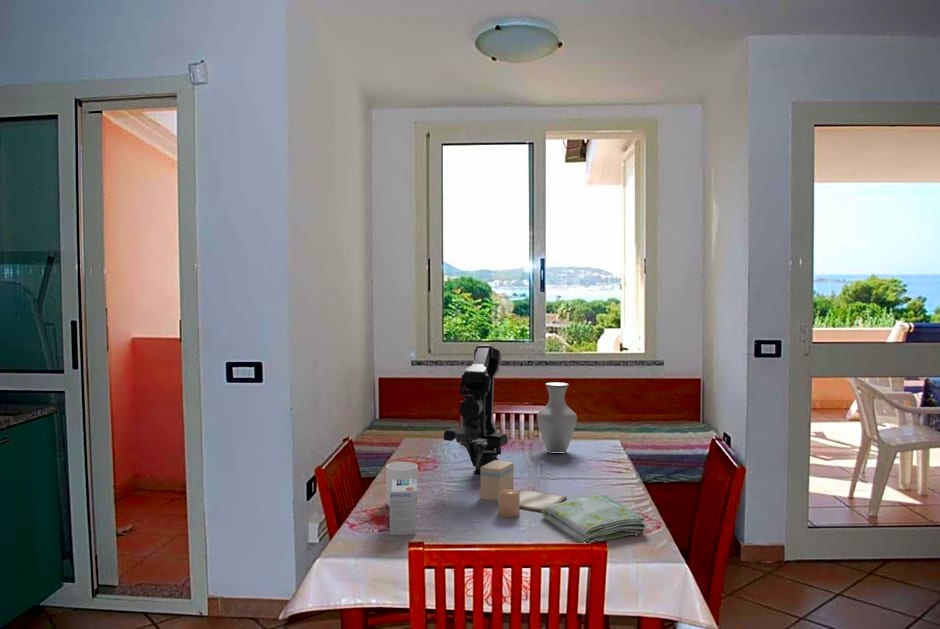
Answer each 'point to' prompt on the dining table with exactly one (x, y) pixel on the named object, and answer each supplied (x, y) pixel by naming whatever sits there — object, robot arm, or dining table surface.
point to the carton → (496, 478)
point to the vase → (556, 419)
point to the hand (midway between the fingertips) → (475, 466)
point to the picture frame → (538, 500)
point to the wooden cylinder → (509, 503)
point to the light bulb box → (403, 507)
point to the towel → (594, 518)
